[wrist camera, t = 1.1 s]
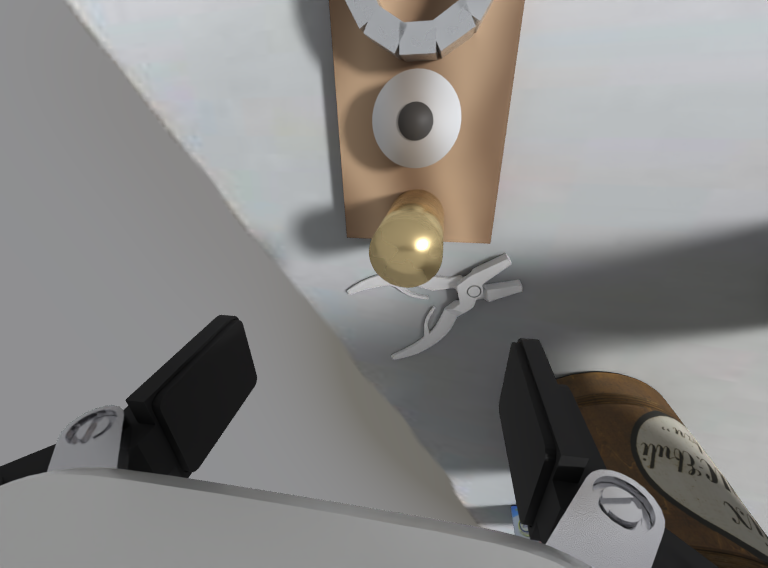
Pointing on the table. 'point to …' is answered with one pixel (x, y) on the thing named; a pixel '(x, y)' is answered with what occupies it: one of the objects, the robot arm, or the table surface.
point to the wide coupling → (419, 28)
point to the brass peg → (409, 240)
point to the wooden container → (668, 467)
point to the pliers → (468, 293)
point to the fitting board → (424, 118)
